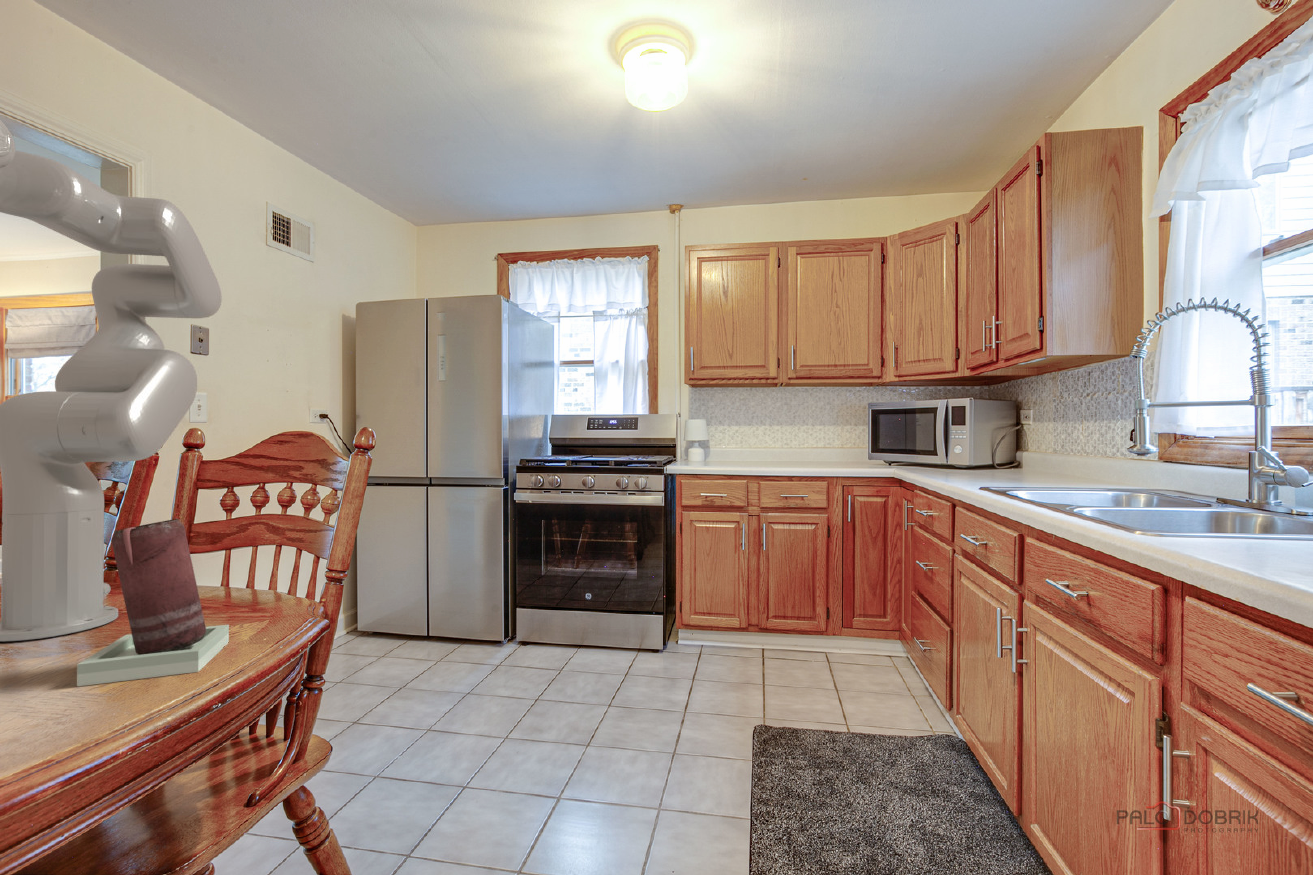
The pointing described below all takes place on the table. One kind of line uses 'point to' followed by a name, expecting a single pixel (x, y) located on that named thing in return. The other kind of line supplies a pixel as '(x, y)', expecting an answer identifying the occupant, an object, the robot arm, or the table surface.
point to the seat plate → (149, 659)
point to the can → (159, 586)
